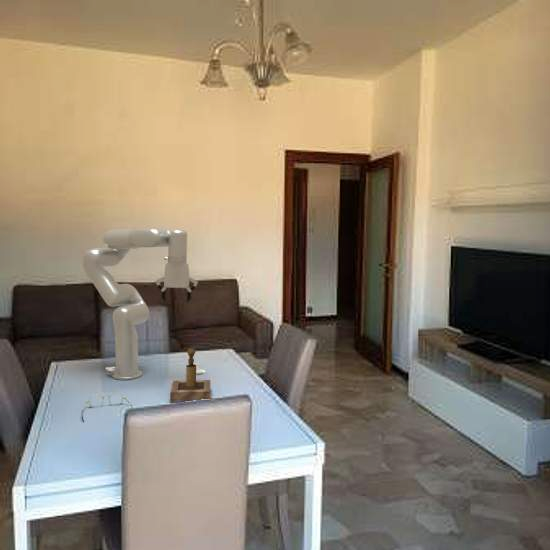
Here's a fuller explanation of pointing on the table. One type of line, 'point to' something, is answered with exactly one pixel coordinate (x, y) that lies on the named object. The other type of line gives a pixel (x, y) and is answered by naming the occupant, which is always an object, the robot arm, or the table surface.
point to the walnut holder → (189, 391)
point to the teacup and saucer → (198, 370)
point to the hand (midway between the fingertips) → (176, 301)
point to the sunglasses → (103, 399)
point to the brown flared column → (191, 372)
